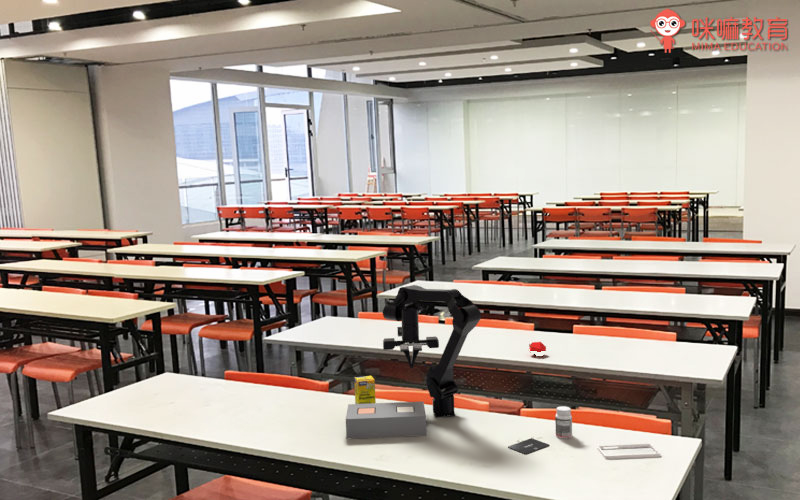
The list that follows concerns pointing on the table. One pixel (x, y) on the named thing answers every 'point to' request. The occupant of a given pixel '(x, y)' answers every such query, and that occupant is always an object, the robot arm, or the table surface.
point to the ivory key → (405, 409)
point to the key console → (386, 420)
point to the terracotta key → (366, 410)
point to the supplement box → (364, 390)
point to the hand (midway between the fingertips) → (411, 368)
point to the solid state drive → (528, 446)
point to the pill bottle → (563, 422)
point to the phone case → (629, 454)
